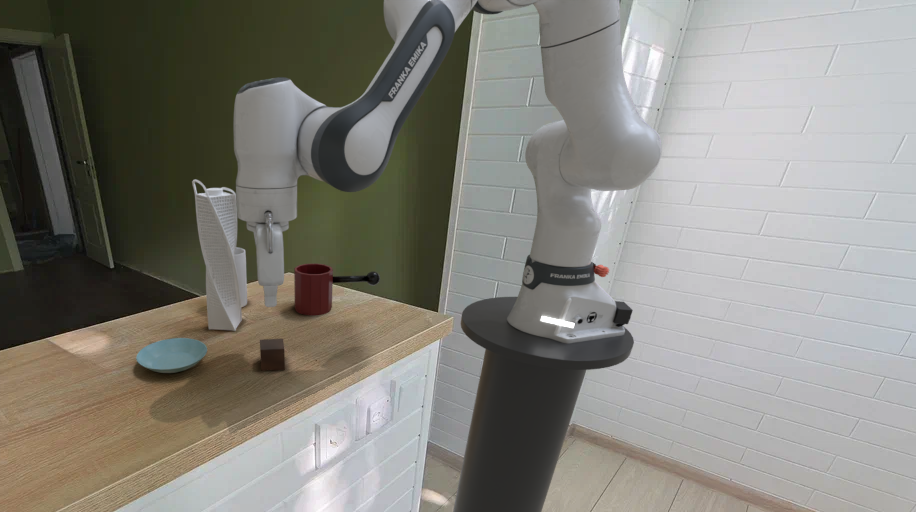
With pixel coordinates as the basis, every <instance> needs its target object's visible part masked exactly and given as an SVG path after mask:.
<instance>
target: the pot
mask: <svg viewBox="0 0 916 512" xmlns="http://www.w3.org/2000/svg"><path fill="white" fill-rule="evenodd" d="M293 272H294V273H293V274H294V275H293V276H294V277H293V279H294V280H293V281H294V283H293V284H294V288H293V289H294V310H295V312H297V313H298V314H301V315H303V316H309V317H310V316H311V317H312V316H314V317H315V316H323V315H326V314H328V313H330V312H331V311H332V308H333V285H334V284H345V283H346V284H348V283H367V284H368V285H369V286H376V285H378V284H379V283H380V281H381V276H380V274H379V272H377V271H373V270H372V271H370V272H368V273H367V274H365V275H336V276H335V275H334V269H333V267H332V266H330V265H328V264H323V263H304V264H303V263H302V264H299V265H296V266H295V267H294V268H293Z"/></svg>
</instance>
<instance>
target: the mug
mask: <svg viewBox="0 0 916 512" xmlns="http://www.w3.org/2000/svg"><path fill="white" fill-rule="evenodd" d="M246 255H247V254H246V249H244V248H242V247H237V246H236V252H235V259H234V261H235V265H236V270H237V275H238V281H239V289H240V298H241V308H243V307H246V306H247V305H248V282H247V281H248V280H247V256H246Z"/></svg>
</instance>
